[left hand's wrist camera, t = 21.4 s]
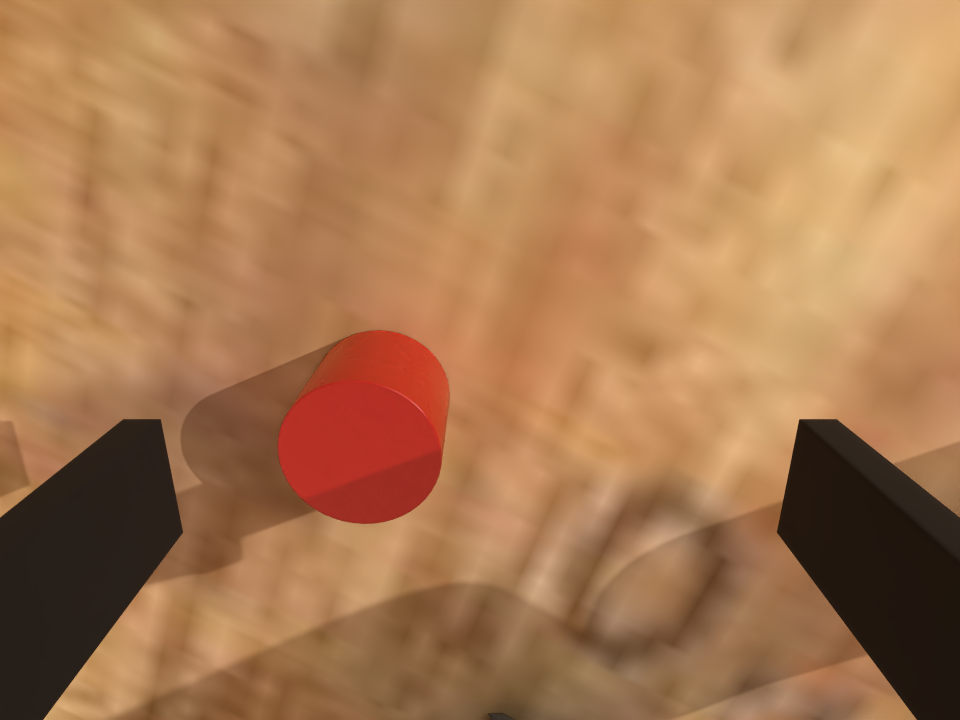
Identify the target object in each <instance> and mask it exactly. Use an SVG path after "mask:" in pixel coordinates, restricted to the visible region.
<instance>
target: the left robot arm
mask: <svg viewBox="0 0 960 720" xmlns="http://www.w3.org/2000/svg"><path fill="white" fill-rule="evenodd" d="M182 533H183V530H182V525H181V520H180V515H179V510H178V505H177V500H176V495H175V490H174V484H173V479H172V474H171V469H170V464H169V459H168V454H167V449H166V444H165V439H164V434H163V429H162V424H161V419H123V420H122V421H121V422H119V423H118V424H117V425H116V426H114V427H113V428H112V429H111V430H109V431H108V432H107V433H106V434H104V435H103V436H102V437H101V438H99V439H98V440H97V441H96V442H94V443H93V444H92V445H91V446H89V447H88V448H87V449H86V450H84V451H83V452H82V453H81V454H79V455H78V456H77V457H76V458H74V459H73V460H72V461H71V462H69V463H68V464H67V465H66V466H64V467H63V468H62V469H61V470H59V471H58V472H57V473H56V474H54V475H53V476H52V477H51V478H49V479H48V480H47V481H46V482H44V483H43V484H42V485H41V486H39V487H38V488H37V489H36V490H34V491H33V492H32V493H31V494H29V495H28V496H27V497H26V498H24V499H23V500H22V501H21V502H19V503H18V504H17V505H15V506H14V507H13V508H12V509H10V510H9V511H8V512H7V513H5V514H4V515H3V516H2V517H0V720H43V719H44V718H45V716H46V715H47V714H48V712H49V711H50V710H51V708H52V707H53V706H54V704H55V703H56V702H57V700H58V699H59V698H60V696H61V695H62V694H63V692H64V691H65V690H66V688H67V687H68V686H69V684H70V683H71V682H72V680H73V679H74V678H75V676H76V675H77V674H78V672H79V671H80V670H81V668H82V667H83V666H84V664H85V663H86V662H87V660H88V659H89V658H90V656H91V655H92V654H93V652H94V651H95V650H96V648H97V647H98V646H99V644H100V643H101V641H102V640H103V639H104V637H105V636H106V635H107V633H108V632H109V631H110V629H111V628H112V627H113V625H114V624H115V623H116V621H117V620H118V619H119V617H120V616H121V615H122V613H123V612H124V611H125V609H126V608H127V607H128V605H129V604H130V603H131V601H132V600H133V599H134V597H135V596H136V595H137V593H138V592H139V591H140V589H141V588H142V587H143V585H144V584H145V583H146V581H147V580H148V579H149V577H150V576H151V575H152V573H153V572H154V571H155V569H156V568H157V566H158V565H159V564H160V562H161V561H162V560H163V558H164V557H165V556H166V554H167V553H168V552H169V550H170V549H171V548H172V546H173V545H174V544H175V542H176V541H177V540H178V538H179V537H180V536H181V534H182ZM777 533H778V534H779V536H780V537H781V538H782V540H783V541H784V542H785V544H786V545H787V546H788V548H789V549H790V550H791V552H792V553H793V554H794V556H795V557H796V558H797V560H798V561H799V562H800V564H801V565H802V566H803V568H804V569H805V571H806V572H807V573H808V575H809V576H810V577H811V579H812V580H813V581H814V583H815V584H816V585H817V587H818V588H819V589H820V591H821V592H822V593H823V595H824V596H825V597H826V599H827V600H828V601H829V603H830V604H831V605H832V607H833V608H834V609H835V611H836V612H837V613H838V615H839V616H840V617H841V619H842V620H843V621H844V623H845V624H846V625H847V627H848V628H849V629H850V631H851V632H852V633H853V635H854V636H855V637H856V639H857V640H858V641H859V643H860V644H861V646H862V647H863V648H864V650H865V651H866V652H867V654H868V655H869V656H870V658H871V659H872V660H873V662H874V663H875V664H876V666H877V667H878V668H879V670H880V671H881V672H882V674H883V675H884V676H885V678H886V679H887V680H888V682H889V683H890V684H891V686H892V687H893V688H894V690H895V691H896V692H897V694H898V695H899V696H900V698H901V699H902V700H903V702H904V703H905V704H906V706H907V707H908V708H909V710H910V711H911V712H912V714H913V715H914V716H915V718H916V719H917V720H960V517H958V516H957V515H956V514H955V513H953V512H952V511H951V510H950V509H948V508H947V507H946V506H945V505H943V504H942V503H941V502H939V501H938V500H937V499H936V498H934V497H933V496H932V495H931V494H929V493H928V492H927V491H926V490H924V489H923V488H922V487H921V486H919V485H918V484H917V483H916V482H914V481H913V480H912V479H911V478H909V477H908V476H907V475H906V474H904V473H903V472H902V471H901V470H899V469H898V468H897V467H896V466H894V465H893V464H892V463H891V462H889V461H888V460H887V459H886V458H884V457H883V456H882V455H881V454H879V453H878V452H877V451H876V450H874V449H873V448H872V447H871V446H869V445H868V444H867V443H866V442H864V441H863V440H862V439H861V438H859V437H858V436H857V435H856V434H854V433H853V432H852V431H851V430H849V429H848V428H847V427H846V426H844V425H843V424H842V423H841V422H839V421H838V420H837V419H799V424H798V429H797V434H796V439H795V444H794V449H793V454H792V459H791V464H790V469H789V474H788V479H787V484H786V490H785V495H784V500H783V505H782V510H781V515H780V520H779V525H778V530H777Z"/></svg>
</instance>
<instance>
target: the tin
mask: <svg viewBox="0 0 960 720" xmlns="http://www.w3.org/2000/svg"><path fill="white" fill-rule="evenodd" d="M449 397H450V394H449V385H448V380H447V377H446V374H445V372H444V370H443V368H442V366H441V364H440V363H439V361H438V360H437V359H436V357H435V356H434V355H433V354H432V353H431V352H430V351H429V350H428V349H427V348H426V347H425V346H423V345H422V344H420V343H419V342H417V341H416V340H414V339H412V338H410V337H408V336H405V335H402V334H399V333H395V332H390V331H381V330H379V331H367V332H361V333H358V334H355V335H352V336H350V337H348V338H346V339H344V340H342V341H341V342H339V343H338V344H337V345H335V346H334V347H333V348H332V349H331V350H330V351H329V352H328V353H327V355H326V356H325V358H324V359H323V361H322V362H321V364H320V365H319V367H318V368H317V370H316V371H315V373H314V374H313V376H312V377H311V379H310V380H309V382H308V383H307V384H306V386H305V387H304V389H303V390H302V392H301V393H300V395H299V396H298V398H297V399H296V401H295V402H294V404H293V405H292V407H291V408H290V410H289V411H288V413H287V415H286V416H285V418H284V420H283V422H282V425H281V428H280V431H279V436H278V456H279V462H280V465H281V468H282V471H283V473H284V475H285V477H286V480H287V481H288V483H289V484H290V486H291V487H292V489H293V490H294V491H295V492H296V493H297V495H298V496H299V497H300V498H301V499H303V500H304V501H305V502H306V503H307V504H308V505H310V506H311V507H313V508H314V509H316V510H317V511H319V512H321V513H323V514H325V515H327V516H330V517H332V518H335V519H338V520H341V521H345V522H351V523H360V524H371V523H380V522H385V521H389V520H393V519H396V518H398V517H401V516H403V515H405V514H407V513H408V512H410V511H412V510H413V509H414V508H416V507H417V506H419V505H420V504H421V503H422V502H423V501H424V500H425V499H426V498H427V496H428V495H429V494H430V493H431V491H432V489H433V488H434V486H435V484H436V482H437V479H438V477H439V474H440V469H441V464H442V456H443V448H444V440H445V432H446V424H447V416H448V408H449Z"/></svg>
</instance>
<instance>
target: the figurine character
mask: <svg viewBox="0 0 960 720" xmlns="http://www.w3.org/2000/svg"><path fill="white" fill-rule="evenodd" d="M488 714H489V716H490V717H491V719H492V720H514V719H512V718H510V717H509V716H507V715H505V714H503V713H488Z"/></svg>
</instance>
